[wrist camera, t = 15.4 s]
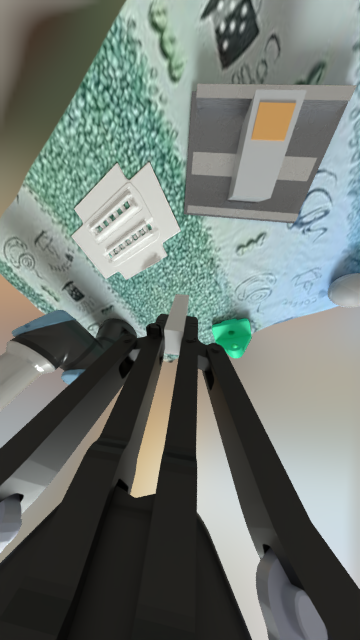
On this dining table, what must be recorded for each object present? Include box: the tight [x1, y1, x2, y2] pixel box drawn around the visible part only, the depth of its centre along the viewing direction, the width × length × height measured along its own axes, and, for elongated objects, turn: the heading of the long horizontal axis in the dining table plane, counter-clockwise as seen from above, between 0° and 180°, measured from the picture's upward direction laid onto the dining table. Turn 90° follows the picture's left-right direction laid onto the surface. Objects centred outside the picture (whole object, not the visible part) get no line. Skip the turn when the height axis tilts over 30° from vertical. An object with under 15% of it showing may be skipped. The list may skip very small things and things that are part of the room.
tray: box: [72, 162, 181, 280], centre depth 37 cm, size 20×28×4 cm
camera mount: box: [212, 318, 252, 358], centre depth 46 cm, size 12×8×10 cm, turn 111°
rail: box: [184, 84, 357, 223], centre depth 26 cm, size 24×16×3 cm, turn 86°
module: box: [227, 90, 307, 202], centre depth 24 cm, size 6×10×8 cm, turn 176°
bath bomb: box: [328, 273, 360, 307], centre depth 34 cm, size 8×8×8 cm
